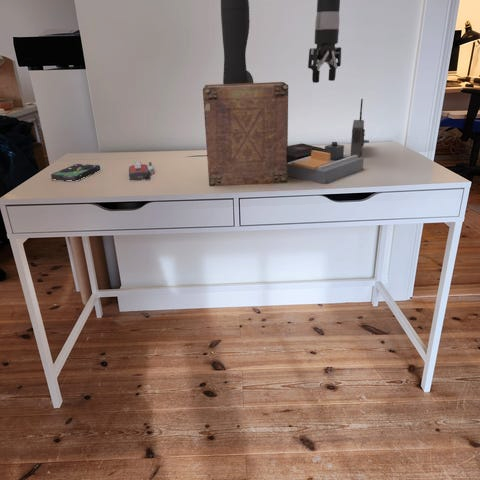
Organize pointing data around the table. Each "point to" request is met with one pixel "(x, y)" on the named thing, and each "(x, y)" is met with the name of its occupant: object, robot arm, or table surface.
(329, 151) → the plug
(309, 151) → the portable cd player
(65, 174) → the disk drive
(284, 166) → the book
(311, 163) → the shutter
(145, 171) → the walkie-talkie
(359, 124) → the electronic device
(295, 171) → the socket block
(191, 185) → the table surface
